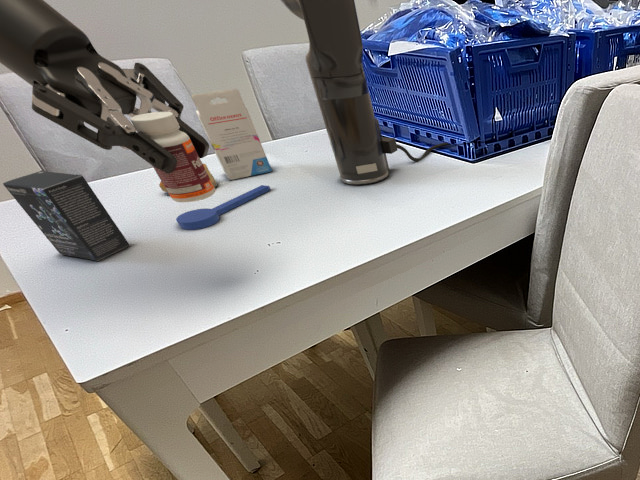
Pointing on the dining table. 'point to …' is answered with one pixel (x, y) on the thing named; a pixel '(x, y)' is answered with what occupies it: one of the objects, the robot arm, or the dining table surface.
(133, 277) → the dining table surface
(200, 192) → the pill bottle
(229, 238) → the dining table surface
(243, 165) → the ink box
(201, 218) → the spoon
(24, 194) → the box
